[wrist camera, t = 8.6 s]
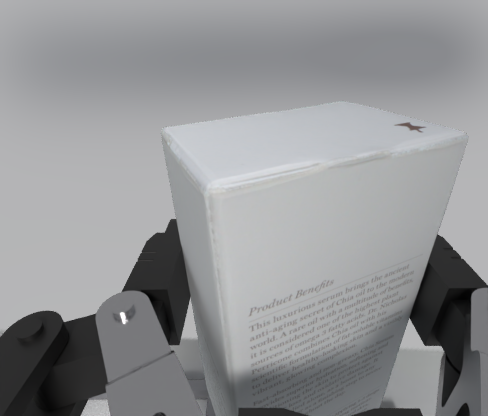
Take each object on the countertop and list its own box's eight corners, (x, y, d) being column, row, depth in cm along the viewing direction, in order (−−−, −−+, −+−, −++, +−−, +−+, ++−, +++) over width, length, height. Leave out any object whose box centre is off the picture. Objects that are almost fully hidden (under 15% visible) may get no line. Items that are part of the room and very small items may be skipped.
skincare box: (314, 340, 16) (347, 97, 10) (377, 424, 12) (484, 130, 6) (201, 390, 14) (155, 122, 8) (238, 507, 10) (207, 190, 4)
